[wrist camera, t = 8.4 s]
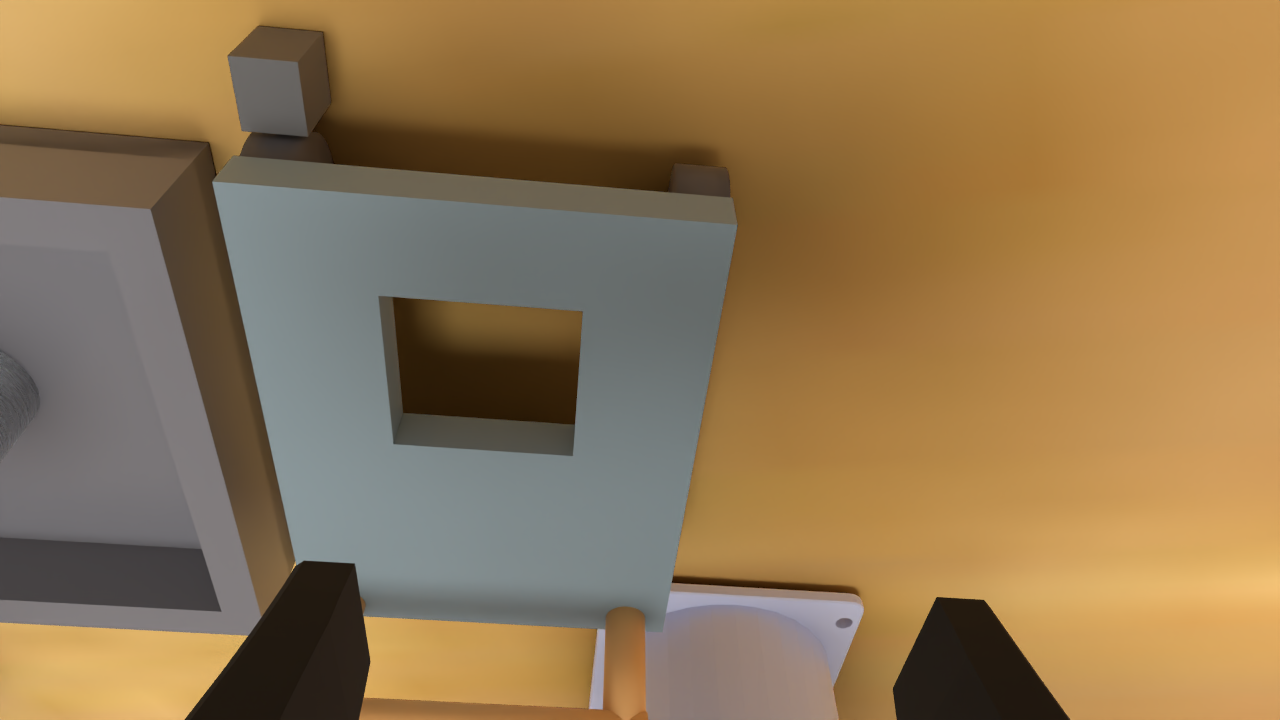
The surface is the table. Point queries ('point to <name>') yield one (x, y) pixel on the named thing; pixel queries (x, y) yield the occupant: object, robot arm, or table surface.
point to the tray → (130, 395)
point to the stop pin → (15, 402)
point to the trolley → (462, 446)
